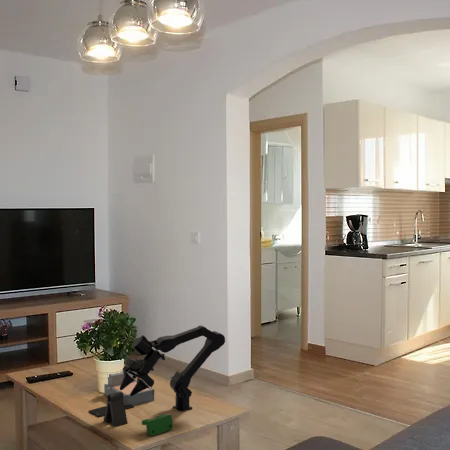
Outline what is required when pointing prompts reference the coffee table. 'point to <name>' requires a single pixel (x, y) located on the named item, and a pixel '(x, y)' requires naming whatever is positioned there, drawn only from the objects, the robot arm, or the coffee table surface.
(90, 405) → the coffee table surface
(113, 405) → the phone stand
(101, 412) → the cell phone
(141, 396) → the flap frame
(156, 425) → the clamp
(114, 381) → the flap
